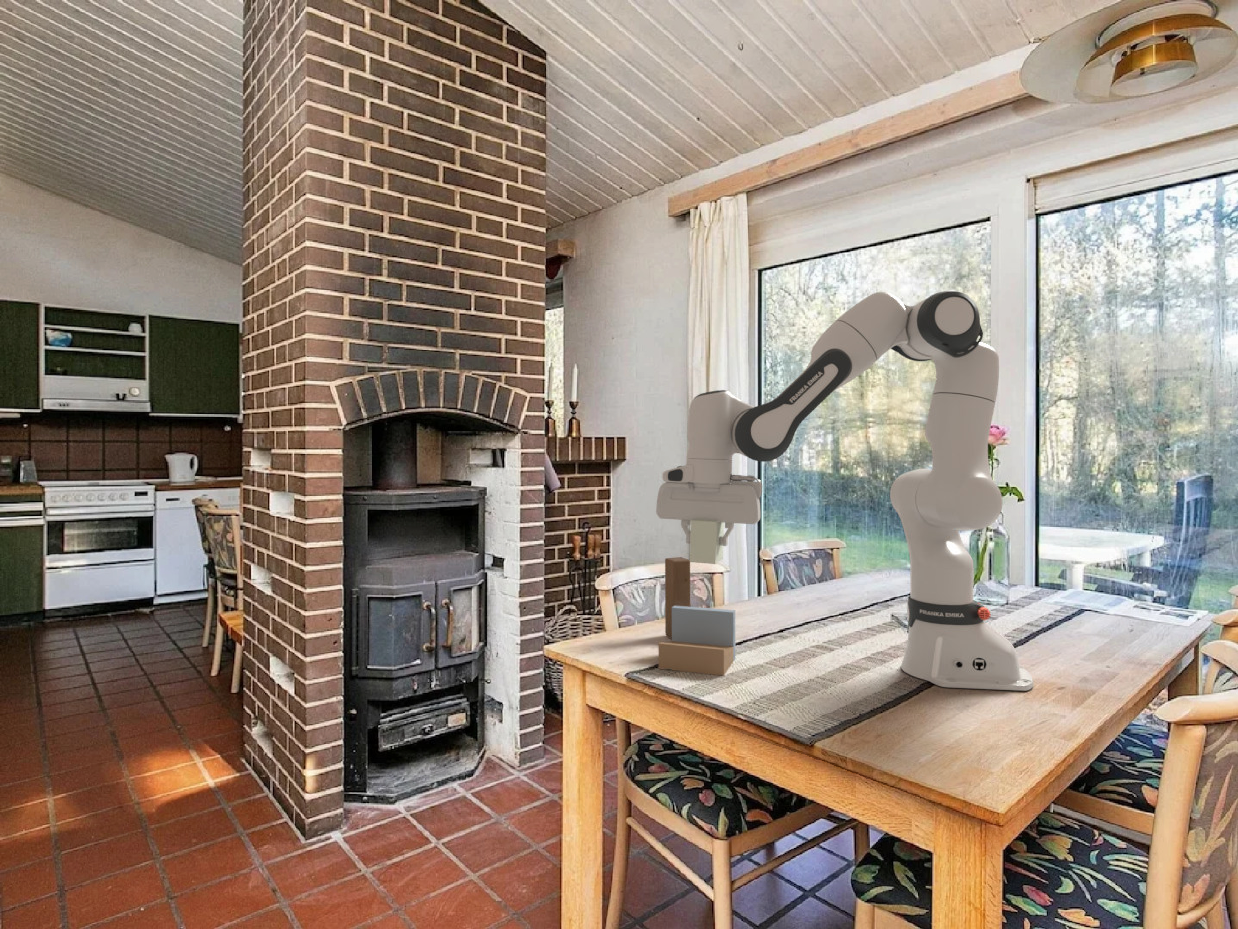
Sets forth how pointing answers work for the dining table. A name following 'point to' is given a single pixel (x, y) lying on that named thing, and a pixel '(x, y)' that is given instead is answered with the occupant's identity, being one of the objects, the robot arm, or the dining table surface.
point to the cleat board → (700, 641)
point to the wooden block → (676, 588)
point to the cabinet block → (706, 541)
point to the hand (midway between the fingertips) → (706, 544)
